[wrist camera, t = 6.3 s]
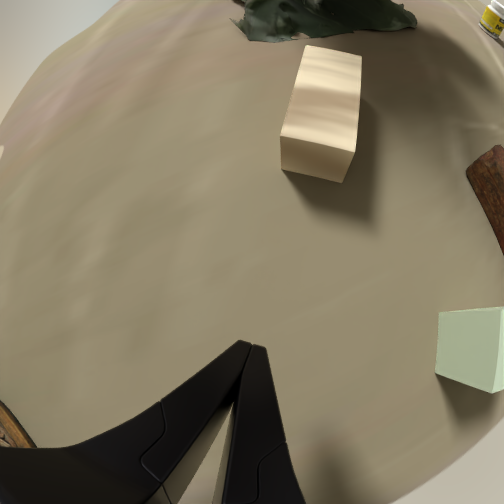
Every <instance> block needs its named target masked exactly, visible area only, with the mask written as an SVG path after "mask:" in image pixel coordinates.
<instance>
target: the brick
mask: <svg viewBox="0 0 504 504" xmlns="http://www.w3.org/2000/svg"><path fill="white" fill-rule="evenodd" d="M466 173H467V176H468V178H469V180H470V182H471V184H472V186H473V189H474V191H475V193H476V195H477V197H478V199H479V201H480V203H481V205H482V207H483V209H484V211H485V213H486V215H487V217H488V219H489V221H490V223H491V225H492V227H493V230H494V232H495V234H496V236H497V239H498V242H499V244H500V247H501V249H502V252H503V255H504V148H503V147H502V146H501V145H495V146H494V147H493V148H492V149H491V150H490V151H488V152H486V153H484V154H483V155H482V156H480V157H479V158H478V159H477V160H476V161H475V162H474V163H473V164H471V165H470V166H469V167H468V168H467V170H466Z"/></svg>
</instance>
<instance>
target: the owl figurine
mask: <svg viewBox="0 0 504 504" xmlns="http://www.w3.org/2000/svg"><path fill="white" fill-rule="evenodd" d="M0 446H7V447H23V448H37V446H36V445H35V443H34V442H33V440H32V439H31V438H30V436H29V435H28V434H27V432H26V431H25V429H24V428H23V427H22V425H21V424H20V423H19V421H18V420H17V418H16V417H15V416H14V415H13V413H12V412H11V411H10V410H9V409H8V408H7V406H5V404H4V403H3V402H2V401H0Z"/></svg>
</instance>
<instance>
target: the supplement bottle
mask: <svg viewBox="0 0 504 504" xmlns="http://www.w3.org/2000/svg"><path fill="white" fill-rule="evenodd" d="M479 26H480V27H481V28H482V29H483V30H484V31H485V32H486V33H487V34H489V35H490V36H491V37H493V38H495V39H497V38H498V37H499V35H500V34H501V32H502V30H503V28H504V6H503V5H501V4H500V3H499V2H497V1H496V0H492V1H491V5H488V6H487V7H486V10H485V12H484V14H483V16H482V18H481V20H480V22H479Z"/></svg>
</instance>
